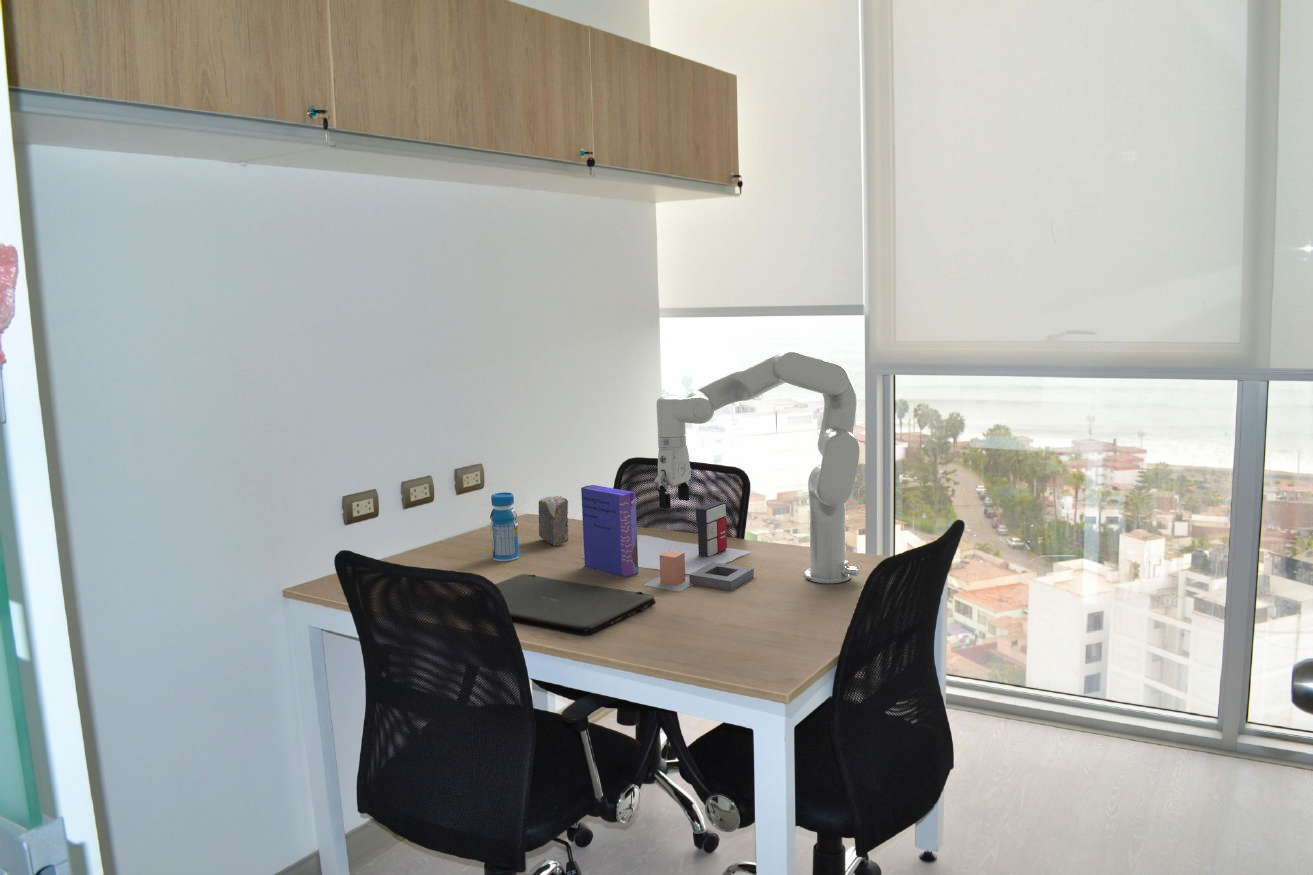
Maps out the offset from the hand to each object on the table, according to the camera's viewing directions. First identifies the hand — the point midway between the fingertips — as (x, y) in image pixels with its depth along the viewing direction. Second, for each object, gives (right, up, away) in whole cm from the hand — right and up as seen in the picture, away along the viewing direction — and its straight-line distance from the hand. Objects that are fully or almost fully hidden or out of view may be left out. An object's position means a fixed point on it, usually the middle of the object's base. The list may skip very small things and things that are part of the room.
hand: (674, 503), depth 265 cm
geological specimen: (-38, -16, +50) cm, 65 cm away
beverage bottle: (-51, -19, +33) cm, 64 cm away
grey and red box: (+12, -17, +31) cm, 38 cm away
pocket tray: (+13, -22, +4) cm, 26 cm away
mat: (0, -22, +3) cm, 23 cm away
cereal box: (-18, -21, +18) cm, 33 cm away
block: (0, -22, +3) cm, 22 cm away
